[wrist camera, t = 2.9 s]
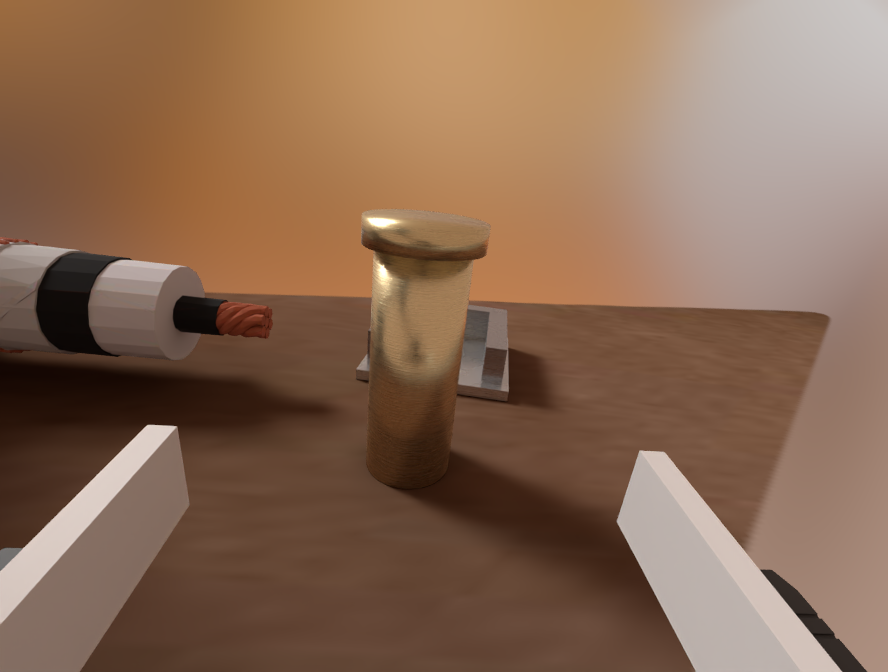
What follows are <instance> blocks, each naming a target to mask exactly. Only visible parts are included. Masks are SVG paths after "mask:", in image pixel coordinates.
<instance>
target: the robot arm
mask: <svg viewBox="0 0 888 672" xmlns="http://www.w3.org/2000/svg"><path fill="white" fill-rule="evenodd" d="M189 505H190V504H189V498H188V492H187V485H186V479H185V473H184V466H183V460H182V454H181V447H180V441H179V435H178V428H177V426H162V425H147V426H146V427H145V428H144V429H143V430H142V431H141V432H140V433H139V434H138V435H137V436H136V437H135V438H134V439H133V440H132V441H131V442H130V443H129V444H128V445H127V446H126V447H125V448H124V449H123V450H122V451H121V452H120V453H119V454H118V455H117V456H116V457H115V458H114V459H113V460H112V461H111V462H110V463H109V464H108V465H107V466H106V467H105V468H104V469H103V470H102V471H101V472H100V473H99V474H98V475H97V476H96V477H95V478H94V479H93V480H92V481H91V482H90V483H89V484H88V485H87V486H86V487H85V488H84V489H83V490H82V491H81V492H80V493H79V494H78V495H77V496H76V497H75V498H74V499H73V500H72V501H71V502H70V503H69V504H68V505H67V506H66V507H65V508H63V509H62V510H61V511H60V512H59V513H58V514H57V515H56V516H55V517H54V518H53V519H52V520H51V521H50V522H49V523H48V524H47V525H46V526H45V527H44V528H43V529H42V530H41V531H40V532H39V533H38V534H37V535H36V536H35V537H34V538H33V539H32V540H31V541H30V542H29V543H28V544H27V545H26V546H25V547H24V548H4V549H2V550H0V672H80V671H81V669H82V668H83V666H84V665H85V663H86V662H87V660H88V658H89V657H90V655H91V654H92V652H93V651H94V649H95V648H96V646H97V645H98V643H99V642H100V640H101V639H102V637H103V636H104V634H105V633H106V631H107V630H108V628H109V627H110V625H111V624H112V622H113V620H114V619H115V617H116V616H117V614H118V613H119V611H120V610H121V608H122V607H123V605H124V604H125V602H126V601H127V599H128V598H129V596H130V595H131V593H132V592H133V590H134V589H135V587H136V586H137V584H138V582H139V581H140V579H141V578H142V576H143V575H144V573H145V572H146V570H147V569H148V567H149V566H150V564H151V563H152V561H153V560H154V558H155V557H156V555H157V554H158V552H159V551H160V549H161V548H162V546H163V544H164V543H165V541H166V540H167V538H168V537H169V535H170V534H171V532H172V531H173V529H174V528H175V526H176V525H177V523H178V522H179V520H180V519H181V517H182V516H183V514H184V513H185V511H186V510H187V508H188V506H189ZM617 523H618V525H619V527H620V529H621V531H622V532H623V534H624V536H625V538H626V540H627V542H628V544H629V546H630V548H631V550H632V551H633V553H634V555H635V557H636V559H637V561H638V563H639V565H640V567H641V568H642V570H643V572H644V574H645V576H646V578H647V580H648V582H649V584H650V585H651V587H652V589H653V591H654V593H655V595H656V597H657V599H658V601H659V603H660V604H661V606H662V608H663V610H664V612H665V614H666V616H667V618H668V620H669V621H670V623H671V625H672V627H673V629H674V631H675V633H676V635H677V637H678V638H679V640H680V642H681V644H682V646H683V648H684V650H685V652H686V654H687V656H688V657H689V659H690V661H691V663H692V665H693V667H694V669H695V671H696V672H867V671H866V670H865V669H864V668H863V667H862V666H861V664H860V663H859V662H858V661H857V660H856V658H855V657H854V656H853V655H852V654H851V652H850V651H849V650H848V649H847V648H846V647H845V645H844V644H843V643H842V642H841V641H840V640H839V639H836V638H835V636H834V633H833V631H832V630H831V629H830V628H829V627H828V626H827V624H826V623H825V622H824V621H823V620H822V619H819V618H818V616H817V613H816V612H815V611H814V609H813V608H812V607H811V606H810V605H809V603H808V602H807V601H806V600H805V599H804V598H803V597H802V595H801V594H800V593H799V592H798V591H797V590H796V589H795V588H794V587H792V586H791V585H790V584H789V583H787V582H786V581H785V580H784V579H782V578H781V577H780V576H779V575H777V574H776V573H775V572H774V571H772V570H759V568H758V567H757V566H756V565H755V564H754V562H753V561H752V560H751V559H750V557H749V556H748V555H747V554H746V552H745V551H744V550H743V549H742V547H741V546H740V545H739V544H738V542H737V541H736V540H735V539H734V538H733V536H732V535H731V534H730V533H729V531H728V530H727V529H726V528H725V526H724V525H723V524H722V523H721V521H720V520H719V519H718V518H717V517H716V515H715V514H714V513H713V512H712V510H711V509H710V508H709V507H708V505H707V504H706V503H705V502H704V500H703V499H702V498H701V497H700V496H699V494H698V493H697V492H696V491H695V489H694V488H693V487H692V486H691V484H690V483H689V482H688V481H687V479H686V478H685V477H684V476H683V475H682V473H681V472H680V471H679V470H678V468H677V467H676V466H675V465H674V463H673V462H672V461H671V460H670V458H669V457H668V456H667V455H666V454H665V452H653V451H639V454H638V457H637V460H636V464H635V467H634V470H633V473H632V476H631V479H630V482H629V485H628V488H627V491H626V494H625V498H624V501H623V504H622V507H621V510H620V513H619V516H618V519H617Z"/></svg>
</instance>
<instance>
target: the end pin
mask: <svg viewBox="0 0 888 672" xmlns="http://www.w3.org/2000/svg"><path fill="white" fill-rule="evenodd" d="M361 234H362V235H361V243H362V245H363V246H365V247H366V248H368V249H371V250H373V251H374V256H373V285H372V311H371V339H370V367H369V395H368V423H367V451H366V464H367V468H368V470H369V472H370V473H371V474H372V475H373V476H374V477H375V478H376V479H377V480H379V481H380V482H382V483H384V484H386V485H389V486H392V487H396V488H402V489H416V488H422V487H426V486H429V485H431V484H433V483H435V482H437V481H438V480H440V479H441V478H442V477H443V476H444V474H445V473H446V471H447V468H448V463H449V455H450V447H451V438H452V430H453V422H454V414H455V406H456V398H457V390H458V382H459V374H460V365H461V357H462V349H463V341H464V333H465V325H466V317H467V309H468V301H469V292H470V284H471V276H472V268H473V260H475V259H479V258H482V257H484V256H486V254H487V248H488V241H489V234H490V224H488V223H486V222H484V221H481V220H477V219H474V218H469V217H465V216H459V215H454V214H447V213H440V212H431V211H420V210H404V209H379V210H369V211H365V212H363V213H362V233H361Z"/></svg>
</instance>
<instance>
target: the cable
mask: <svg viewBox="0 0 888 672" xmlns="http://www.w3.org/2000/svg"><path fill="white" fill-rule="evenodd" d="M271 317H272V309H270V308H269V307H268V306H258V305H254V304H242V303H236V302H228V301H227V300H220V299H211V298H205V294H204V289H203V286H202V283H201V280H200V278H199V277H198V275H197V273H196V272H194V271H193V270H192V269H190V268H189V267H186V266H177V265H168V264H160V263H151V262H143V261H134V260H131V259H130V258H123V257H115V256H106V255H97V254H90V253H87V252H83V251H80V250H71V249H63V248H53V247H45V246H38V244H37V243H33V242H29V241H28V240H19V239H10V238H4V237H1V238H0V352H7V353H12V352H17V353H22V352H23V351H30V350H35V351H44V352H54V353H64V354H76V353H87V354H96V355H106V356H116V357H118V356H121V355H124V356H134V357H145V358H155V359H165V360H181V359H183V358H185V357H186V356H187V355H189V354H190V353H191V351H192V350H193V349H194V348H195V346H196V344H197V342H198V340H199V338H200V335H201V334H211V335H224V334H227V333H228V334H229V335H232V336H237V335H242V336H244V337H259V338H268V336H269V329H270V330H271V328H272V325H273V323H272V319H271Z"/></svg>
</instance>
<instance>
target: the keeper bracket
mask: <svg viewBox="0 0 888 672" xmlns="http://www.w3.org/2000/svg"><path fill="white" fill-rule="evenodd" d="M370 339H371V328H370V329H369V330H368V353H367V355H366V356H365V358H364V359H363V361H362V362H361V363H360V365H359V366H358V368H357V369H356V379H360V380H366V381H369V367H370ZM508 393H509V376H508V339H507V310H503V309H495V308H488V307H480V306H473V305H468V309H467V317H466V325H465V333H464V341H463V349H462V357H461V365H460V374H459V382H458V390H457V394H460V395H466V396H473V397H480V398H486V399H493V400H500V401H506V402H507V399H508Z"/></svg>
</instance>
